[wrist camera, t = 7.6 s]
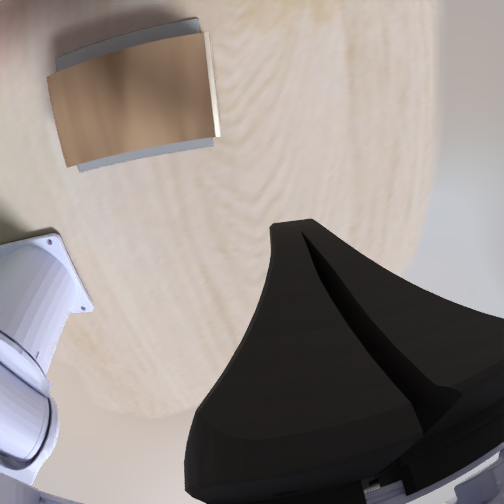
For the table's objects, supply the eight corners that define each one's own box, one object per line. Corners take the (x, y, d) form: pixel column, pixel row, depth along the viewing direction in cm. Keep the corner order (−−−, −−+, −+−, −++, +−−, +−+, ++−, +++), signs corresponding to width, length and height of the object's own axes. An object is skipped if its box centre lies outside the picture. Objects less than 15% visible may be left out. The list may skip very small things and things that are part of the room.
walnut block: (220, 121, 16) (94, 145, 16) (211, 40, 13) (79, 71, 13) (220, 136, 13) (66, 167, 13) (208, 31, 10) (46, 77, 10)
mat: (80, 171, 17) (79, 172, 17) (57, 58, 12) (55, 58, 12) (213, 145, 17) (213, 146, 17) (198, 18, 13) (198, 18, 12)
